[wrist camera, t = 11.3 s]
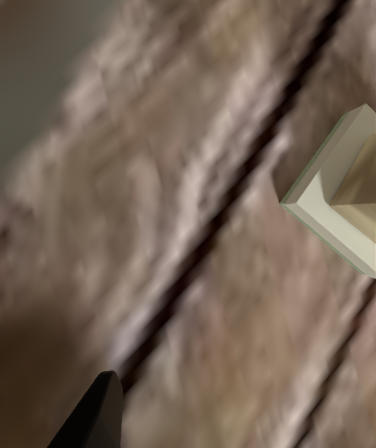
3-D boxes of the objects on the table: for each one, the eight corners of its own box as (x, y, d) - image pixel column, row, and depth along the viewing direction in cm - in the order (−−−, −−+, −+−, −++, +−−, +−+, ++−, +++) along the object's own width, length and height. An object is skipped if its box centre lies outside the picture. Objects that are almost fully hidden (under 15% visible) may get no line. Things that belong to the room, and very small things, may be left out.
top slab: (368, 276, 22) (385, 280, 20) (284, 204, 20) (296, 203, 19) (426, 186, 23) (446, 183, 22) (349, 111, 22) (366, 103, 20)
